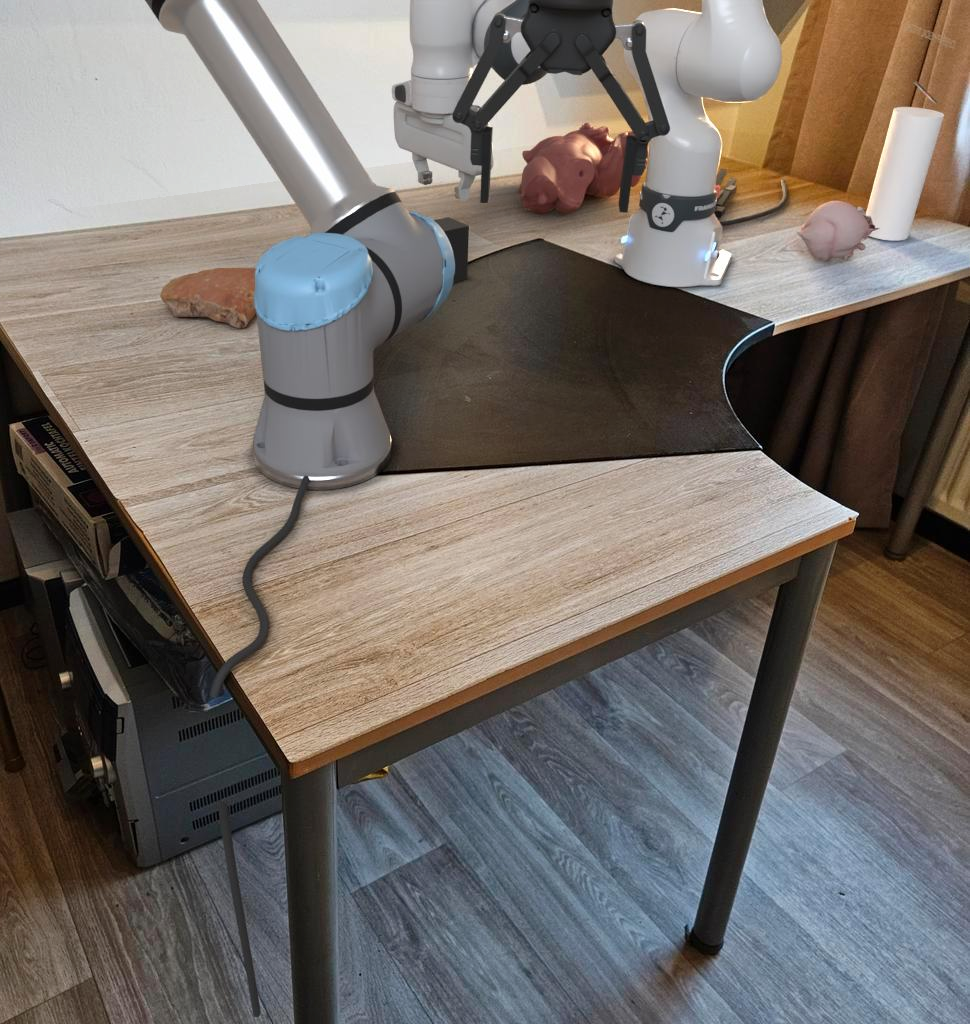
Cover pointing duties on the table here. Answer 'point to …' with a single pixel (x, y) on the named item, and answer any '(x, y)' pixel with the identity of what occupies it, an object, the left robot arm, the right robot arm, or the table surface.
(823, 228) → the toy
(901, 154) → the tall white tube
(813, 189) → the table surface
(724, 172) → the toy
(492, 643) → the table surface
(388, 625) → the table surface
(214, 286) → the ceramic shard
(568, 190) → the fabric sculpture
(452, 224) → the bar
